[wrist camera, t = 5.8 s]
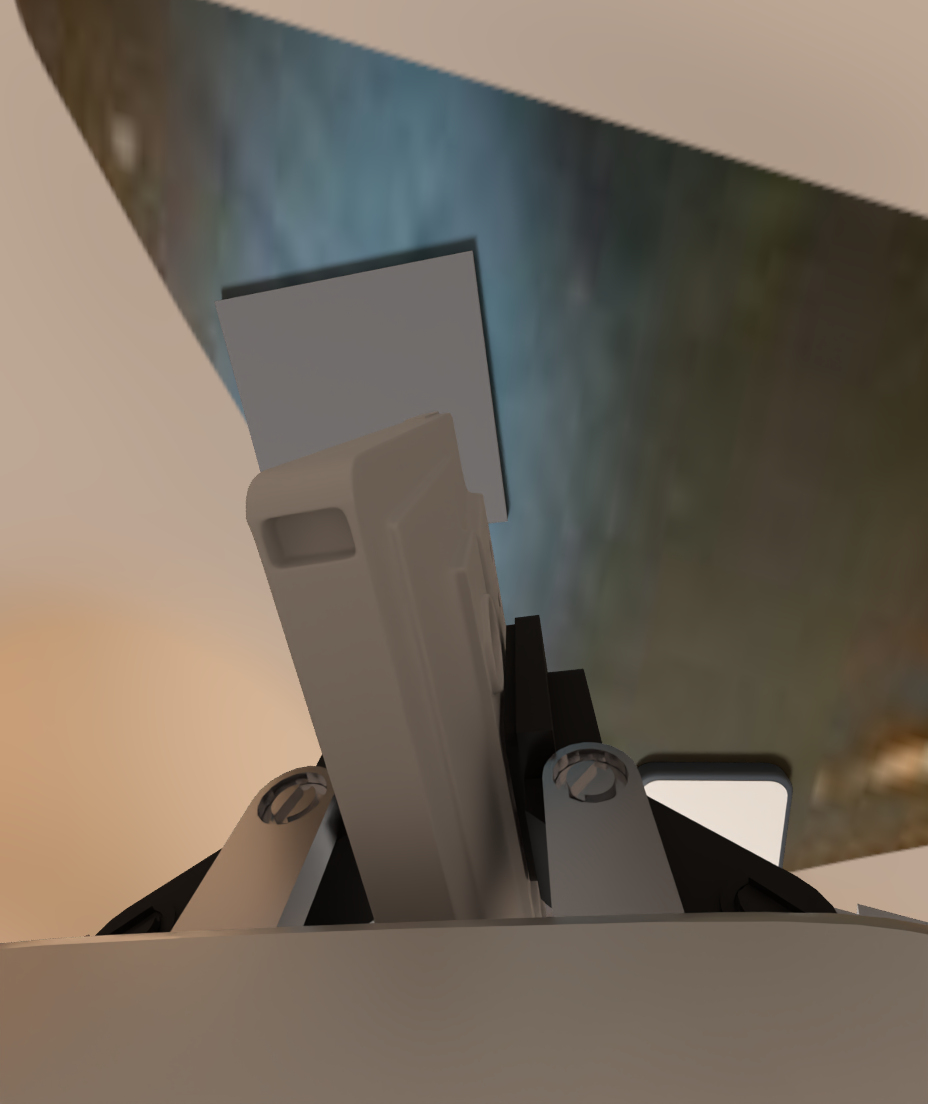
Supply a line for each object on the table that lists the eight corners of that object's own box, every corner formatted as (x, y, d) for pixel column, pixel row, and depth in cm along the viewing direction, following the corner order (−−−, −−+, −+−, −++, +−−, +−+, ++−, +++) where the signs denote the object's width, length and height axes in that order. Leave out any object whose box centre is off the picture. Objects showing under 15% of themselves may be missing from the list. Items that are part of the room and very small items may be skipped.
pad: (473, 253, 22) (472, 250, 22) (507, 518, 26) (507, 521, 25) (221, 303, 24) (214, 301, 23) (286, 545, 28) (281, 548, 27)
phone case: (626, 754, 30) (622, 950, 35) (632, 773, 29) (627, 975, 33) (784, 754, 29) (759, 956, 34) (799, 774, 28) (770, 983, 32)
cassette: (390, 419, 11) (168, 483, 4) (474, 403, 11) (407, 438, 4) (482, 845, 15) (459, 1301, 7) (548, 840, 14) (590, 1306, 7)
